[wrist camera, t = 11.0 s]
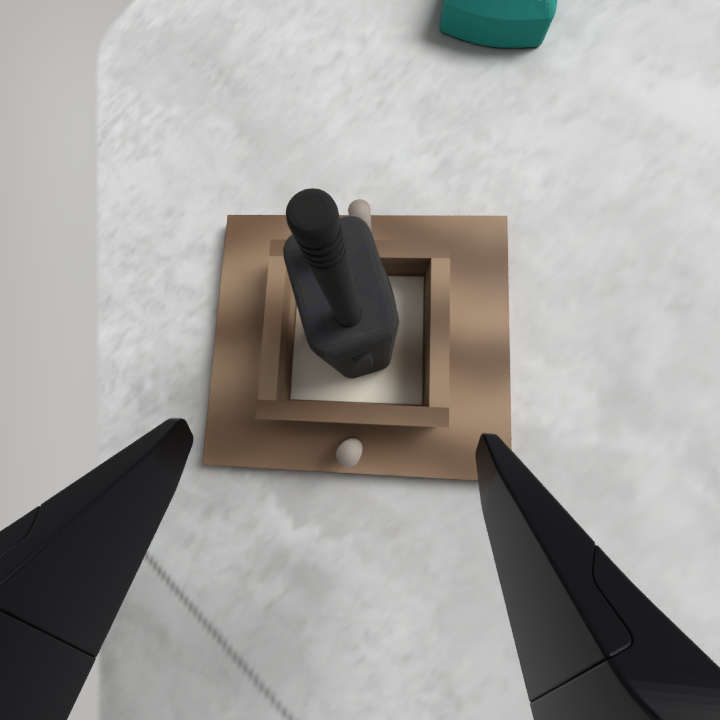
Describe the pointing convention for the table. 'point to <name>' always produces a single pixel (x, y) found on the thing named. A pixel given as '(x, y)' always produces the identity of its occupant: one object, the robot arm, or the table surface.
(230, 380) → the wooden frame board
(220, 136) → the table surface
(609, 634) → the robot arm
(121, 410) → the table surface
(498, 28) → the digital multimeter
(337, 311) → the walkie-talkie
